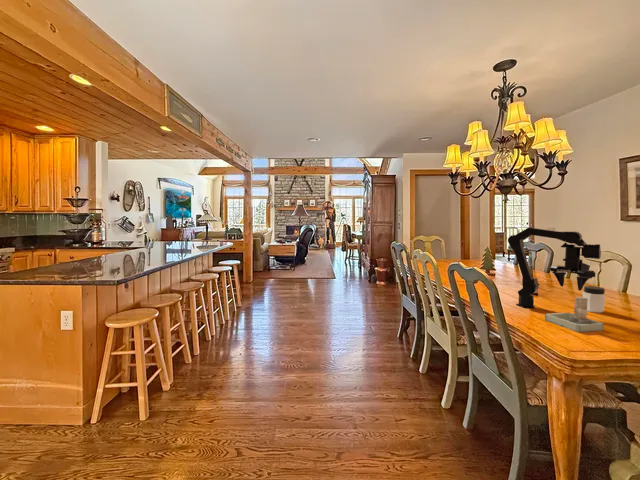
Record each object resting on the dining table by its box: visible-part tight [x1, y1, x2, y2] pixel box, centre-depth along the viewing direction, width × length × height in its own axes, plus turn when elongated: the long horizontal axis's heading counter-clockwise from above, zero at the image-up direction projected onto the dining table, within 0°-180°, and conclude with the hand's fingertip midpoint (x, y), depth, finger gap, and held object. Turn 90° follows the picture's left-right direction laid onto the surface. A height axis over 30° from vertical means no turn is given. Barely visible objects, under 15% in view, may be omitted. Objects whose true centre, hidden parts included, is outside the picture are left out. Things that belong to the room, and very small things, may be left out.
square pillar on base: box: [569, 296, 593, 325], centre depth 138 cm, size 6×5×12 cm
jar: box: [582, 285, 606, 314], centre depth 164 cm, size 9×8×12 cm
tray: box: [544, 312, 605, 333], centre depth 142 cm, size 16×13×3 cm
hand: (570, 288), depth 157 cm, fingers open, 9 cm apart
